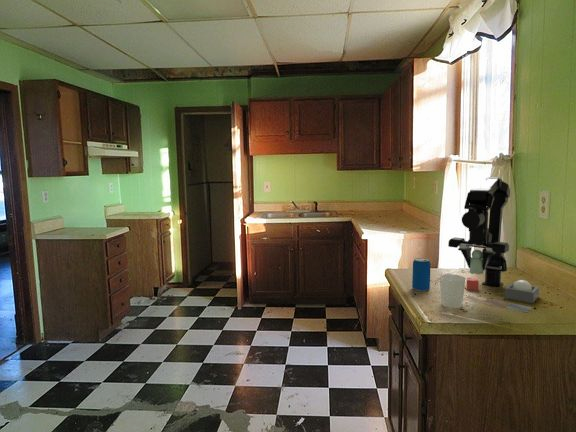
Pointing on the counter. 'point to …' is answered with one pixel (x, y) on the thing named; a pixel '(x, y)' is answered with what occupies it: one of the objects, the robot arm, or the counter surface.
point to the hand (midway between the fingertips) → (476, 268)
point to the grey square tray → (521, 294)
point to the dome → (522, 285)
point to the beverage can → (421, 274)
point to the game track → (498, 303)
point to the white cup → (452, 290)
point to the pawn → (476, 262)
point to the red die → (472, 283)
